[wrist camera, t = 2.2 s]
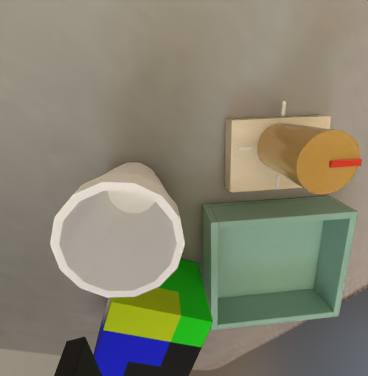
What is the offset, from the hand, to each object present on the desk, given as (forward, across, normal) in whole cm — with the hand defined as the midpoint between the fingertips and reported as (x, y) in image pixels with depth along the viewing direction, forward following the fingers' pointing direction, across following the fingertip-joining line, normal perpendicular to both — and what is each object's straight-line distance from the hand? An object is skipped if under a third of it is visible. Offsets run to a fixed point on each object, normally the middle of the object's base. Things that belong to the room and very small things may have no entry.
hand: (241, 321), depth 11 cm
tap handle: (+19, +11, +2) cm, 22 cm away
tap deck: (+21, +11, +1) cm, 24 cm away
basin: (+21, +8, -12) cm, 26 cm away
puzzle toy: (+22, -8, -13) cm, 27 cm away
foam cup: (+22, -6, +1) cm, 22 cm away
